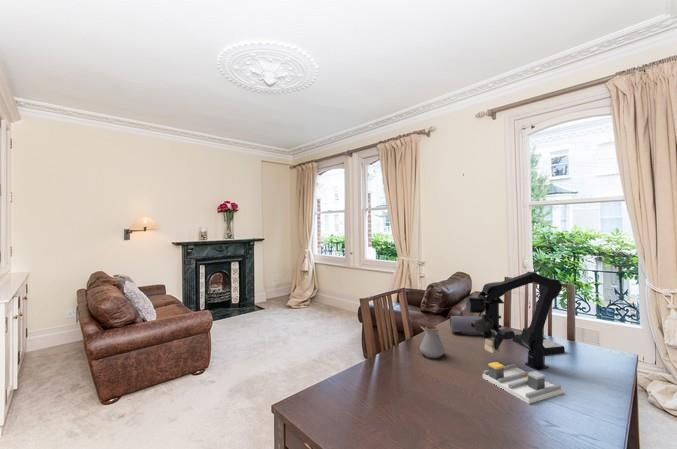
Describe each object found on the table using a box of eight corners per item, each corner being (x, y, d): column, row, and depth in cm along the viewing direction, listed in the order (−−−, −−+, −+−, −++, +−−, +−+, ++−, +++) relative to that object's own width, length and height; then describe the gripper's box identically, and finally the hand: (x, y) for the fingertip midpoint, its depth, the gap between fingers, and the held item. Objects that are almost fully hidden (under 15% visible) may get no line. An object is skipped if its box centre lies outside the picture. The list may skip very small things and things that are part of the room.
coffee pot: (450, 356, 147) (450, 324, 147) (432, 362, 142) (432, 328, 142) (417, 342, 166) (417, 313, 166) (401, 346, 160) (401, 317, 160)
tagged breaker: (496, 373, 127) (496, 361, 127) (504, 377, 123) (503, 365, 123) (488, 375, 125) (488, 363, 125) (496, 379, 122) (496, 367, 122)
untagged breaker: (535, 383, 119) (535, 371, 119) (544, 388, 115) (544, 375, 115) (527, 385, 117) (527, 372, 117) (537, 390, 114) (537, 377, 114)
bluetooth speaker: (452, 335, 175) (452, 317, 175) (449, 330, 184) (449, 313, 184) (496, 338, 172) (495, 319, 172) (490, 332, 181) (490, 314, 181)
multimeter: (533, 339, 170) (533, 330, 170) (565, 354, 151) (565, 343, 151) (511, 341, 167) (511, 332, 167) (541, 356, 148) (541, 345, 148)
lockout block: (491, 348, 141) (491, 337, 141) (499, 351, 137) (499, 340, 137) (484, 349, 139) (484, 338, 139) (492, 353, 136) (492, 341, 136)
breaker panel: (514, 370, 134) (514, 363, 134) (563, 393, 115) (563, 385, 115) (482, 377, 127) (482, 371, 127) (528, 403, 108) (528, 396, 108)
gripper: (461, 309, 144) (462, 343, 144) (495, 321, 127) (495, 359, 127) (480, 307, 148) (480, 340, 148) (515, 317, 131) (515, 355, 131)
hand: (491, 348), depth 138 cm, fingers closed on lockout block, 4 cm apart
